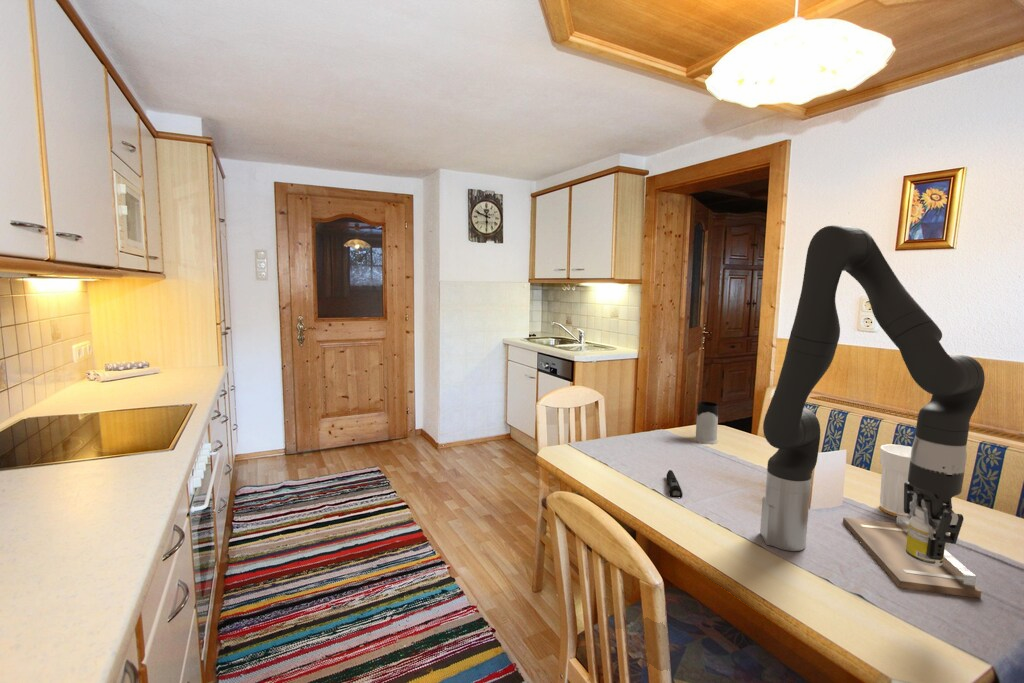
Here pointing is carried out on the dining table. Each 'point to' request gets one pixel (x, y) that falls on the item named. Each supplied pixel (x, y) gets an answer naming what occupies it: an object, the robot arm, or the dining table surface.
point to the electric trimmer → (673, 485)
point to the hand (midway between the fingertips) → (924, 549)
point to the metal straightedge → (946, 560)
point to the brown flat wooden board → (903, 559)
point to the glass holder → (707, 423)
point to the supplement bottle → (920, 540)
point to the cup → (894, 478)
